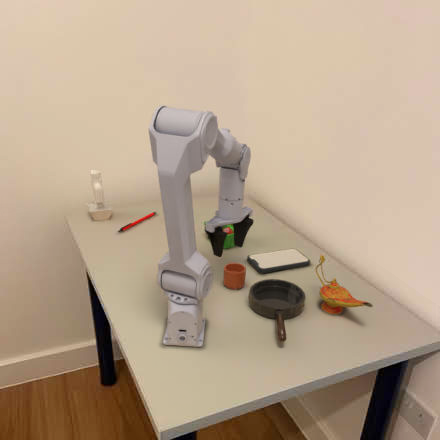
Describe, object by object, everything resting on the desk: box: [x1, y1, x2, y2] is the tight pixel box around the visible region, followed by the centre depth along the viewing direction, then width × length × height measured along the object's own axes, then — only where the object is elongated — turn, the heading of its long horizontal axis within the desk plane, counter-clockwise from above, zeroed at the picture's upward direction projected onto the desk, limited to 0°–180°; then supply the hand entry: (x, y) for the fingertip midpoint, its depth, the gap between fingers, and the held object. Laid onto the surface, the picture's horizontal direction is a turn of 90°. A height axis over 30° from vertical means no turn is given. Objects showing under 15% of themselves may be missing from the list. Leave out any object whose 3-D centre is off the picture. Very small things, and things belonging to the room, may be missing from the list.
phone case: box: [246, 248, 311, 274], centre depth 121 cm, size 9×2×16 cm
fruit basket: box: [203, 220, 237, 250], centre depth 129 cm, size 11×9×11 cm
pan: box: [248, 278, 306, 320], centre depth 103 cm, size 13×13×3 cm
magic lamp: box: [315, 254, 374, 315], centre depth 99 cm, size 7×18×11 cm, turn 30°
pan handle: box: [275, 310, 287, 343], centre depth 93 cm, size 11×2×2 cm, turn 178°
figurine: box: [86, 168, 114, 221], centre depth 139 cm, size 7×9×15 cm
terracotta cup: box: [222, 262, 247, 290], centre depth 109 cm, size 5×5×5 cm
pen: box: [117, 211, 157, 233], centre depth 140 cm, size 1×19×1 cm, turn 150°
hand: (228, 250), depth 107 cm, fingers open, 7 cm apart
